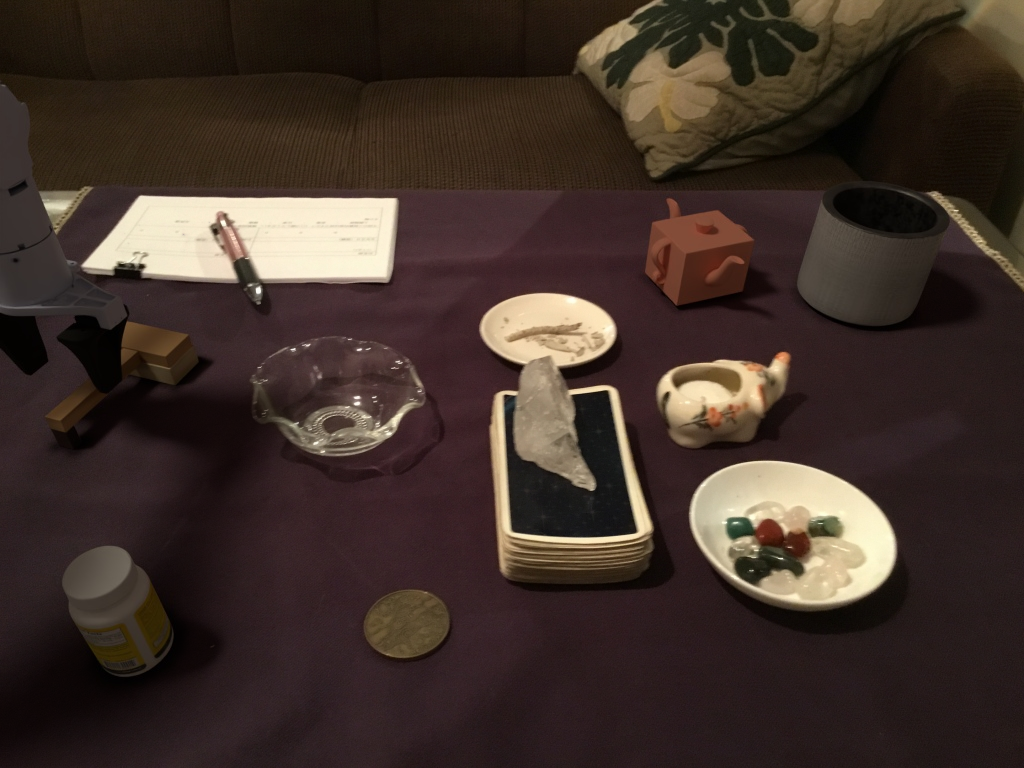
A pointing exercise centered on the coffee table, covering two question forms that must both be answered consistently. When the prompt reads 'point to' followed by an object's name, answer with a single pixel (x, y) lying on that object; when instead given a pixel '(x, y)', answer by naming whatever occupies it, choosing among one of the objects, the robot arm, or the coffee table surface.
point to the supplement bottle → (117, 611)
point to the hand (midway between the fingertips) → (73, 376)
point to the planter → (871, 252)
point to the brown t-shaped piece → (140, 356)
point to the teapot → (698, 255)
